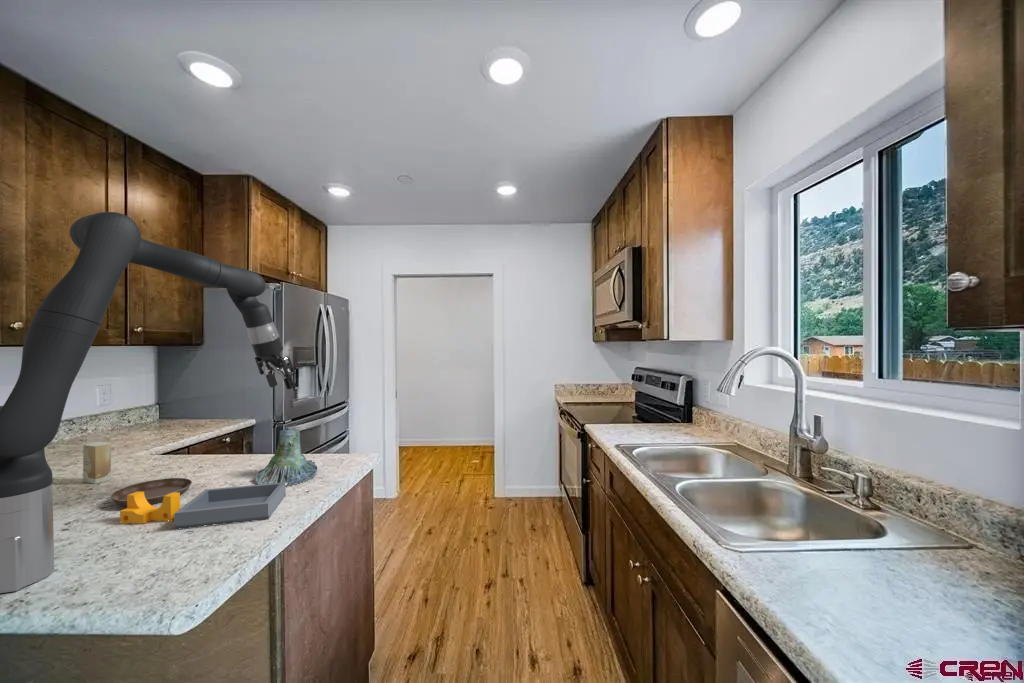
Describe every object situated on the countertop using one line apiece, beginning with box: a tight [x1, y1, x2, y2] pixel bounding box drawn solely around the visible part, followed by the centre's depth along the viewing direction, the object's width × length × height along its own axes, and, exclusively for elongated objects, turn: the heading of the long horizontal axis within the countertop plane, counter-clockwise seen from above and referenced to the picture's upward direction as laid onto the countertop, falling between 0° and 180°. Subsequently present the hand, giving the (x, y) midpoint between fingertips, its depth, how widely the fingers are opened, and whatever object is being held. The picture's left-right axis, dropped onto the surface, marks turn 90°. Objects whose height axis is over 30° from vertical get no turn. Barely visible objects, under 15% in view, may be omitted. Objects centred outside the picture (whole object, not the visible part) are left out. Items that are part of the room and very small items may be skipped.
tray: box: [174, 482, 287, 530], centre depth 108 cm, size 16×20×4 cm
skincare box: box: [82, 441, 112, 484], centre depth 133 cm, size 6×4×12 cm
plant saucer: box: [110, 477, 193, 508], centre depth 119 cm, size 18×18×3 cm
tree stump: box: [254, 429, 318, 488], centre depth 136 cm, size 18×20×18 cm
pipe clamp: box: [119, 491, 181, 524], centre depth 104 cm, size 12×4×6 cm, turn 85°
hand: (282, 387), depth 128 cm, fingers open, 8 cm apart
